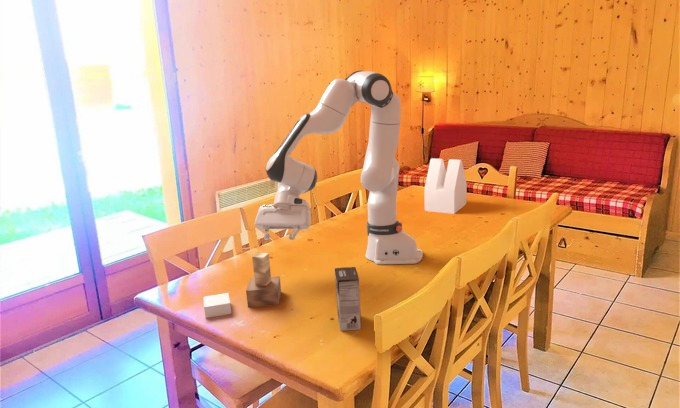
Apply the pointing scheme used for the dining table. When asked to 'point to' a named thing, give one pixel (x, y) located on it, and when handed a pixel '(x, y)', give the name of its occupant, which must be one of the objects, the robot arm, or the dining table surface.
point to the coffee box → (348, 298)
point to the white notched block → (445, 186)
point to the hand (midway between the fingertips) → (278, 239)
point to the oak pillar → (261, 269)
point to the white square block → (217, 305)
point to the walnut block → (263, 293)
